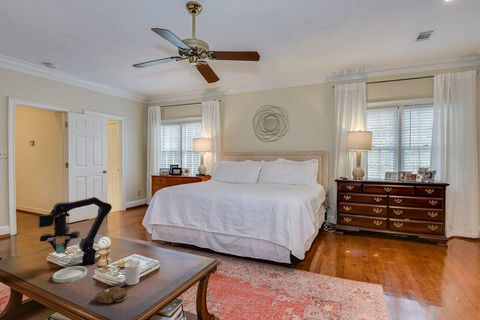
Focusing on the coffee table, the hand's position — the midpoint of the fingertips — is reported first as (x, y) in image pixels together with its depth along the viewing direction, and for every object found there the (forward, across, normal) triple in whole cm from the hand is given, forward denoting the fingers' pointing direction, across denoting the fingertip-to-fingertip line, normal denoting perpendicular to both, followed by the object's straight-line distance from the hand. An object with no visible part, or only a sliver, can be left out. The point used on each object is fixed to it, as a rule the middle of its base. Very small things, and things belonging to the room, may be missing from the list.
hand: (60, 250), depth 154 cm
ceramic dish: (+12, -7, +10) cm, 17 cm away
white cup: (+12, -41, +28) cm, 51 cm away
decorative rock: (+12, -33, +42) cm, 55 cm away
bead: (+1, 0, 0) cm, 1 cm away
